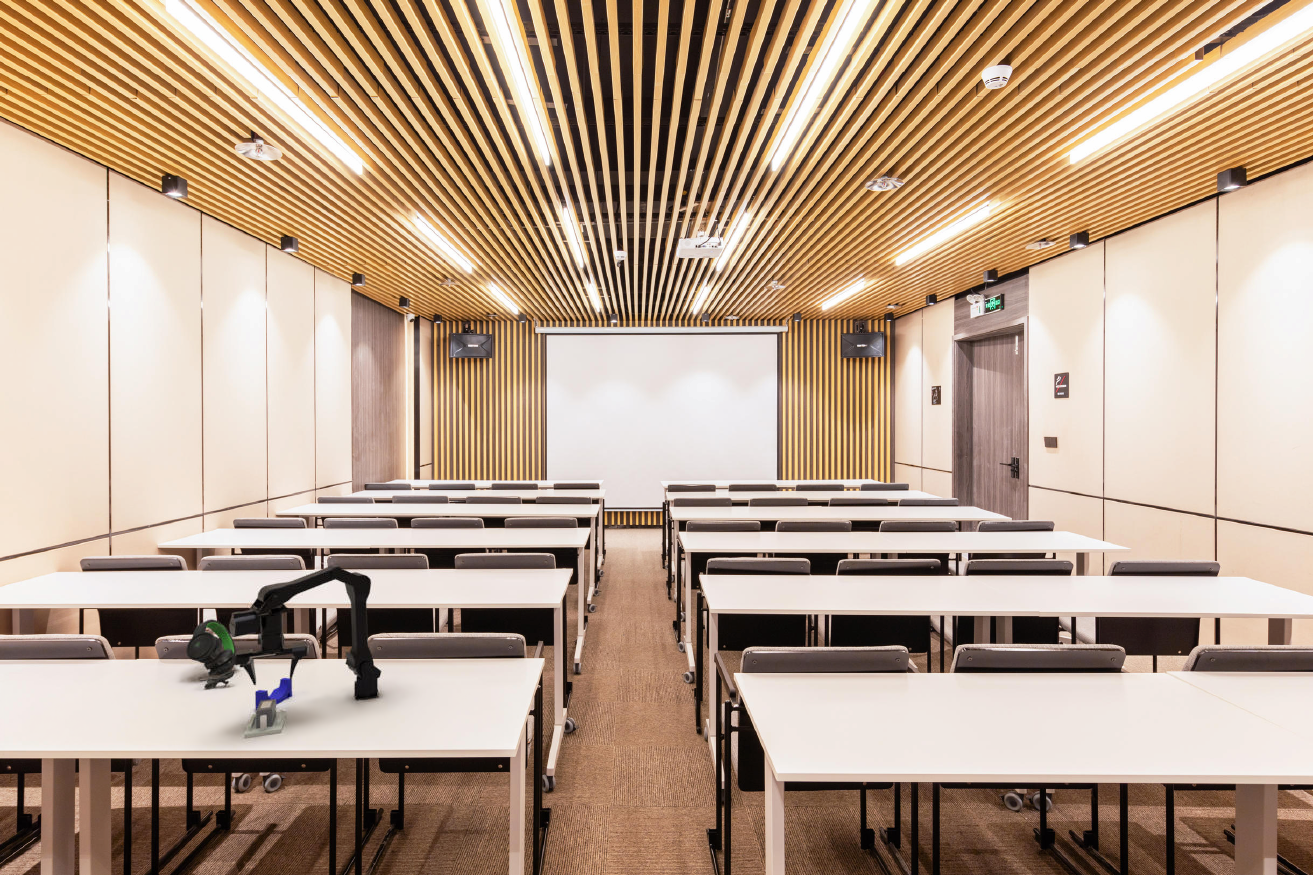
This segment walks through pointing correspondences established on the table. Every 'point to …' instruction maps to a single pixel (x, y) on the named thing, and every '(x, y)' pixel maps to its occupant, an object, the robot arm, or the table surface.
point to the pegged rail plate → (265, 725)
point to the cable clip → (275, 693)
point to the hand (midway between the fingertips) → (273, 682)
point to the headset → (213, 651)
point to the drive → (266, 712)
